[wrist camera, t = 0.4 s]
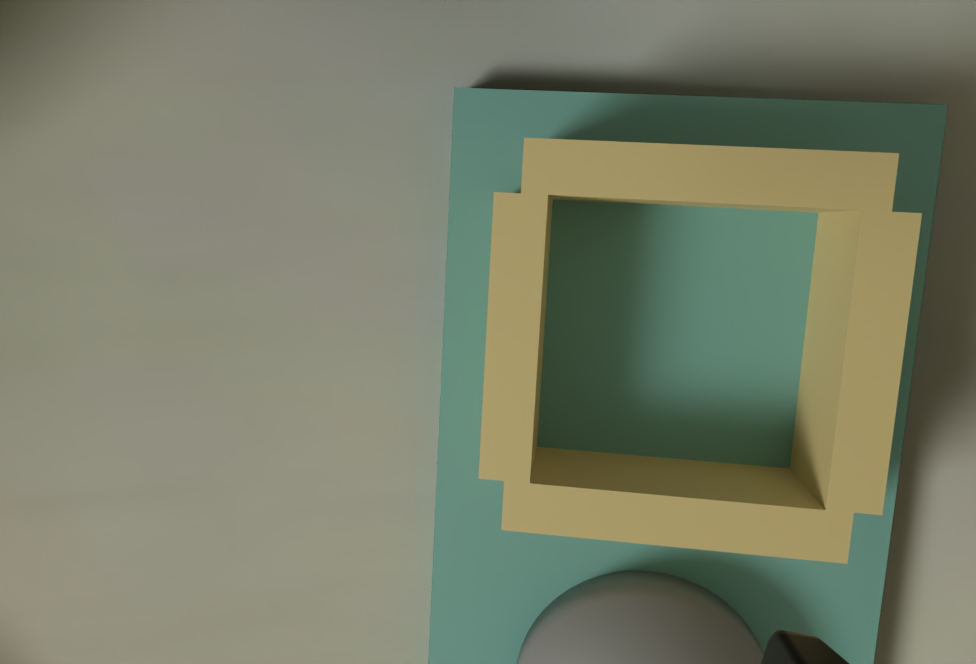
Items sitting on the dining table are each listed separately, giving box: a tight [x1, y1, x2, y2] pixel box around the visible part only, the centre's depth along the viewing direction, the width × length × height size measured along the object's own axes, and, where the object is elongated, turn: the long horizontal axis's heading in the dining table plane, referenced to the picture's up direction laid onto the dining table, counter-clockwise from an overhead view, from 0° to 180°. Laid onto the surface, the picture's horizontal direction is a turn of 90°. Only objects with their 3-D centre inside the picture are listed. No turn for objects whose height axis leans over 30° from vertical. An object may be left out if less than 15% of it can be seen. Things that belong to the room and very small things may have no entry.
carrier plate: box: [428, 88, 948, 664], centre depth 20 cm, size 20×12×4 cm, turn 177°
